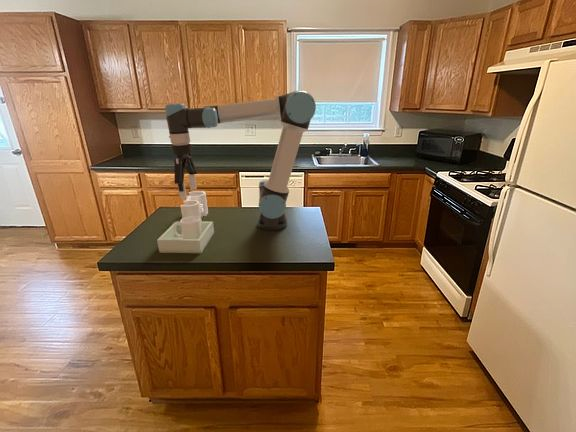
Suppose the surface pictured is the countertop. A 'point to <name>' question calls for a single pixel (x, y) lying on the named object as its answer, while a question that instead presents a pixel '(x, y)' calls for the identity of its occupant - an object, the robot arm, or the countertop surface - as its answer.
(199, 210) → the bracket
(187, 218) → the cup
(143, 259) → the countertop surface
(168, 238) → the tub
